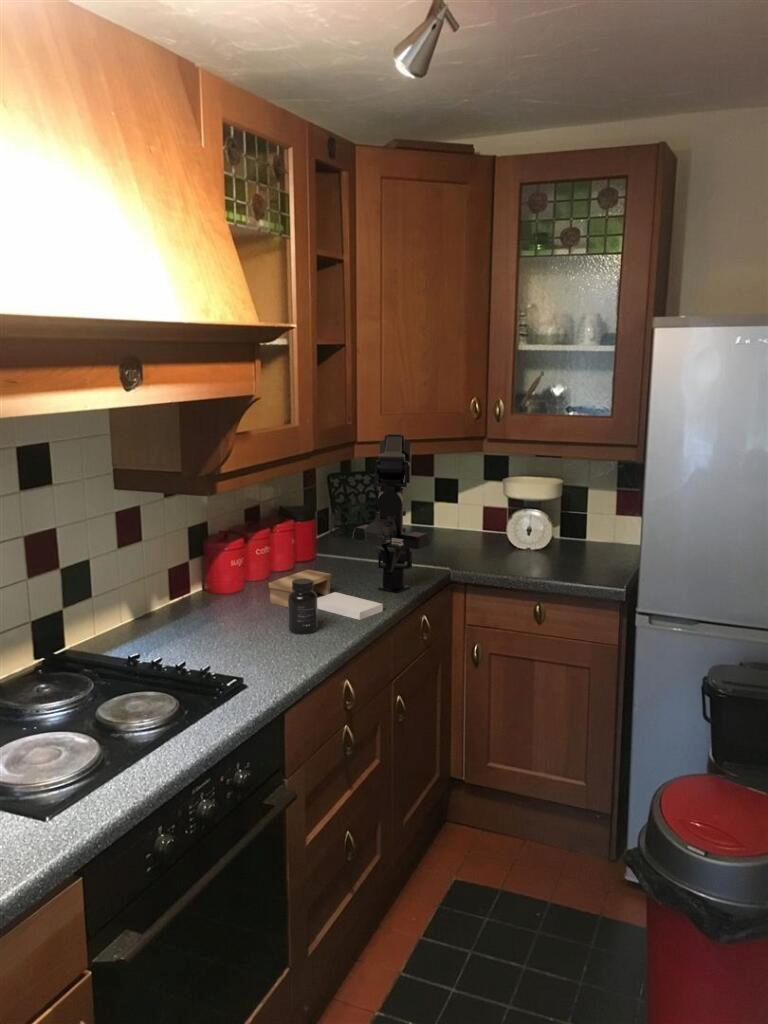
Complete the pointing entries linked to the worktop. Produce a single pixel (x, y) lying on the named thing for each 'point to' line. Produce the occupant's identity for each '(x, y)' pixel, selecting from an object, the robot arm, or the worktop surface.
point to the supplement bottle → (302, 607)
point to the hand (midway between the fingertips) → (390, 571)
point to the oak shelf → (284, 585)
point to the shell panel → (348, 605)
